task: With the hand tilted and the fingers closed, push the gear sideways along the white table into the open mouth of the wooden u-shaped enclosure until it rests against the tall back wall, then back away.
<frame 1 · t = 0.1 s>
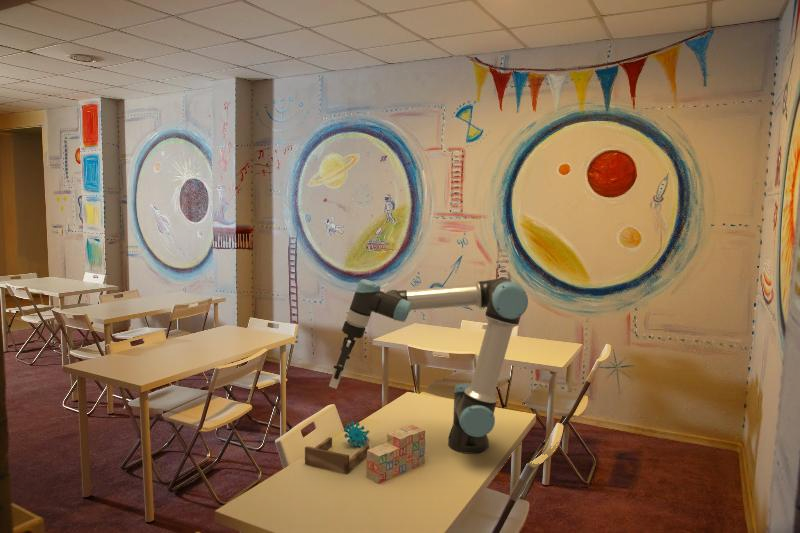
hand: (335, 381, 185), 28 cm above the table, tool tilted 20°, fingers open, 13 cm apart
wooden u-shaped enclosure: (338, 458, 187), on the table
gear: (357, 444, 200), on the table
stack of blocks: (396, 470, 180), on the table
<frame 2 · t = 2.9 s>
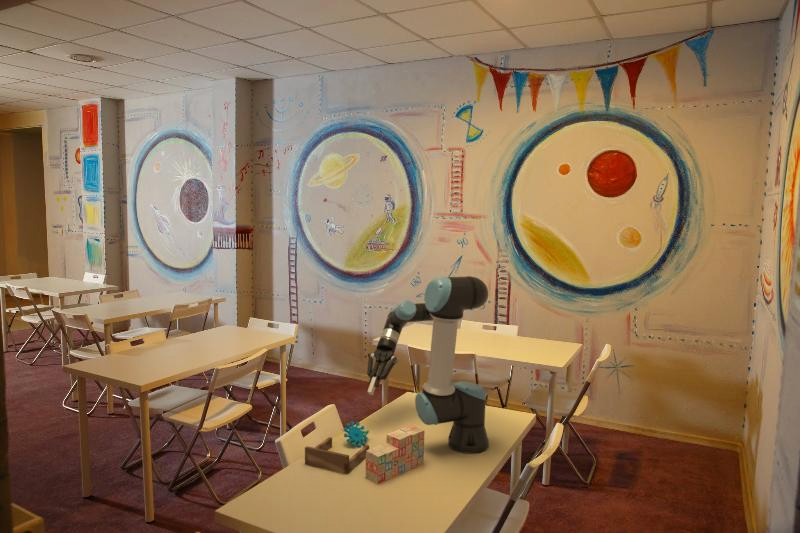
hand: (370, 393, 208), 16 cm above the table, tool tilted 45°, fingers closed
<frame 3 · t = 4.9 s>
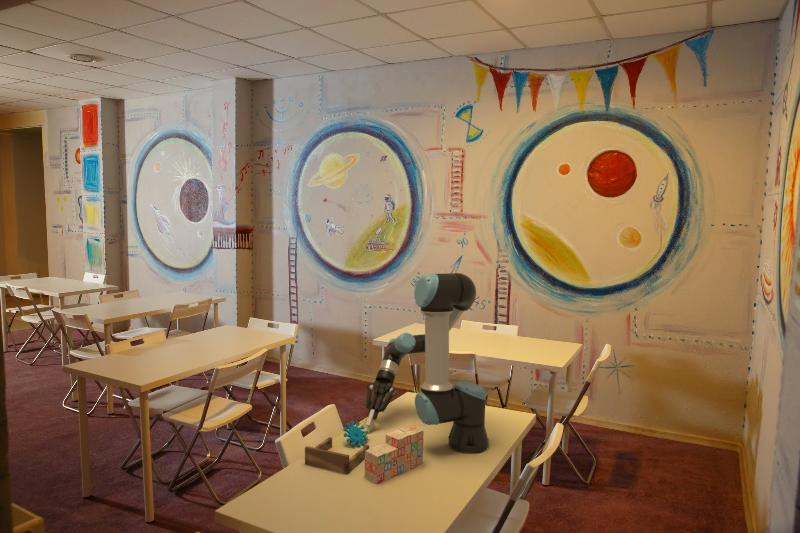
hand: (368, 426, 209), 3 cm above the table, tool tilted 45°, fingers closed
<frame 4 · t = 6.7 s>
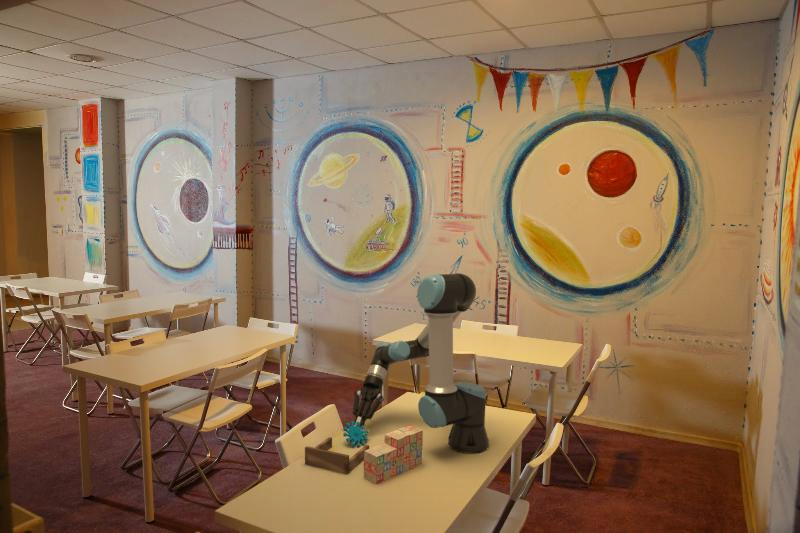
hand: (355, 434, 203), 2 cm above the table, tool tilted 45°, fingers closed
gear: (356, 443, 201), on the table, touching gripper
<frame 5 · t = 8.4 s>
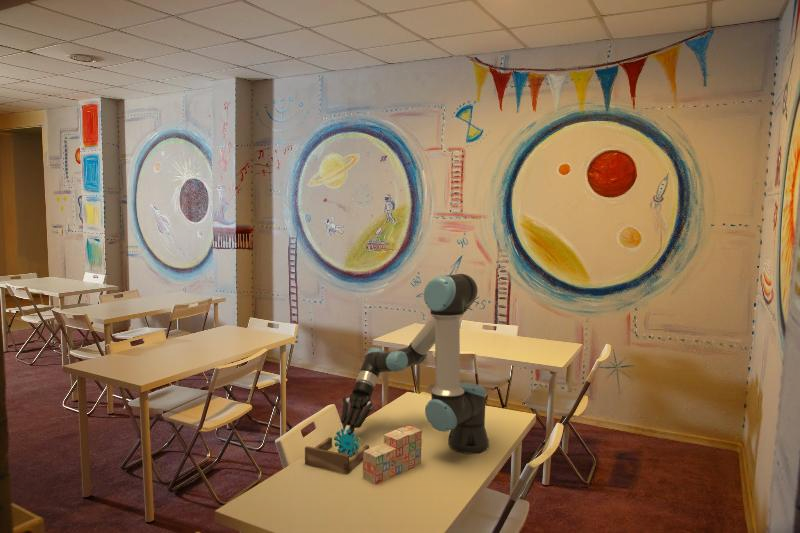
hand: (343, 443, 194), 2 cm above the table, tool tilted 45°, fingers closed
gear: (347, 452, 192), on the table, touching gripper
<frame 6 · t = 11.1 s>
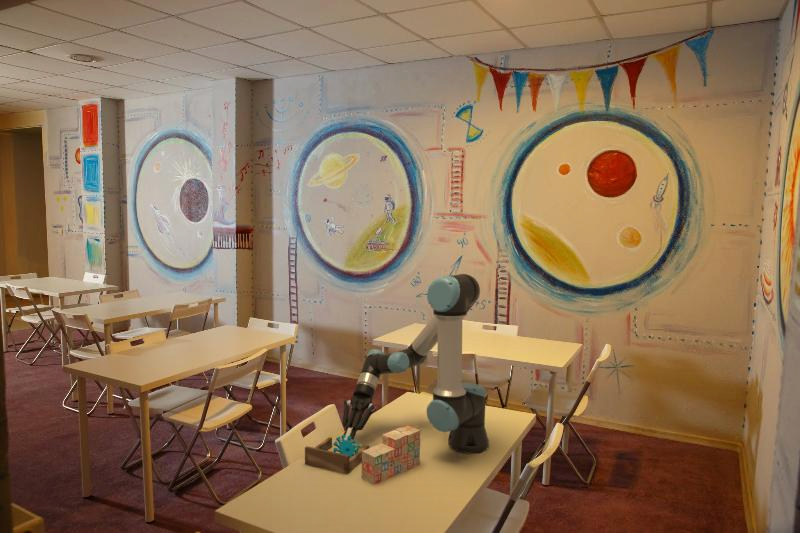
hand: (345, 446, 191), 3 cm above the table, tool tilted 45°, fingers closed
gear: (347, 459, 188), on the table
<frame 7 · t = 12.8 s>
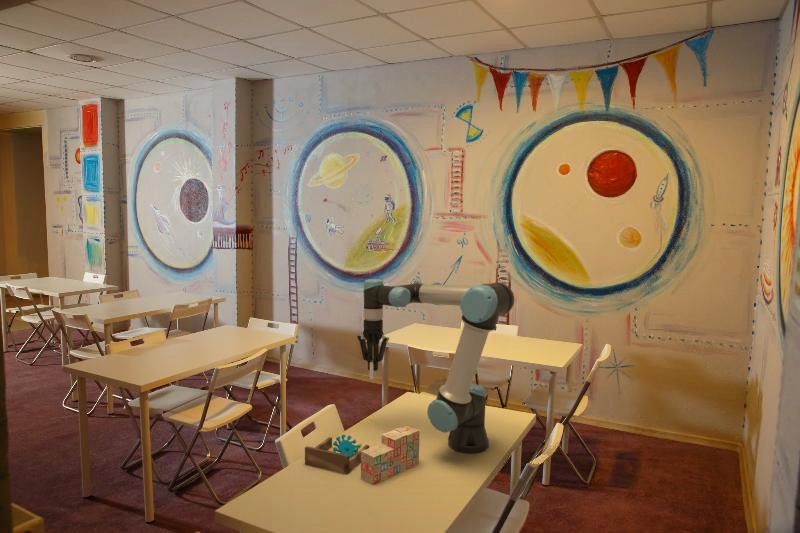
hand: (372, 378, 210), 21 cm above the table, tool pointing down, fingers closed
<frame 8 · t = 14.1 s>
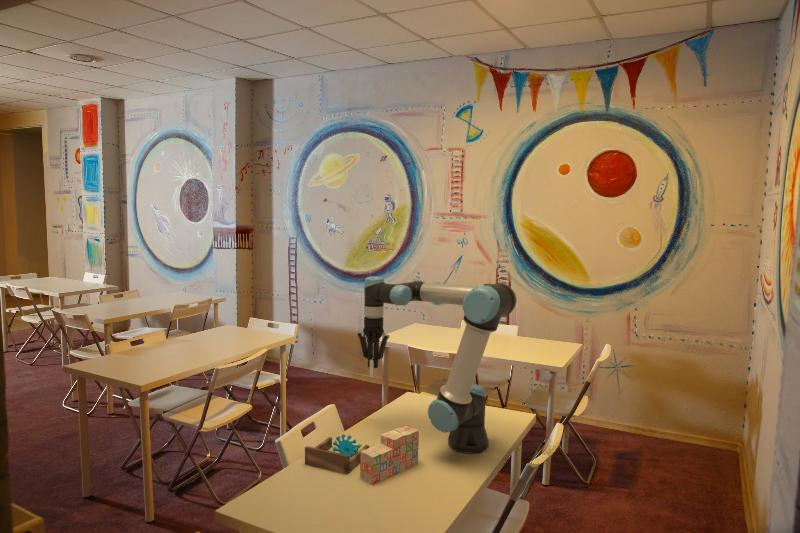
hand: (372, 375, 210), 22 cm above the table, tool pointing down, fingers closed
at the end: gear 3.1 cm from the wooden u-shaped enclosure (horizontally); gear moved 12.4 cm from its start; the gripper is holding nothing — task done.
